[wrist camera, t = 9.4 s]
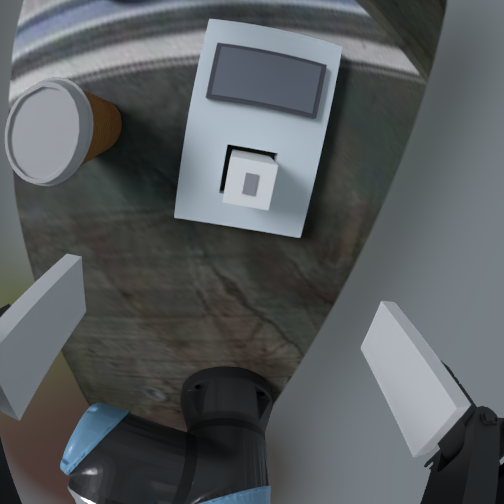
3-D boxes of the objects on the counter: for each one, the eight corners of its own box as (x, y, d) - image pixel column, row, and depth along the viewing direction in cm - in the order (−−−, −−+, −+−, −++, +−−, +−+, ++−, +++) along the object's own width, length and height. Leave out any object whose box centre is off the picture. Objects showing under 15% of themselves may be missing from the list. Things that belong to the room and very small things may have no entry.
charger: (261, 190, 33) (268, 211, 26) (226, 184, 33) (222, 202, 25) (269, 155, 32) (278, 165, 24) (232, 149, 31) (230, 156, 24)
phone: (314, 119, 28) (316, 118, 27) (206, 98, 27) (205, 97, 26) (324, 66, 26) (327, 64, 25) (217, 44, 25) (217, 42, 24)
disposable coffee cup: (146, 96, 28) (100, 85, 17) (121, 175, 32) (69, 203, 21) (78, 80, 26) (16, 71, 15) (57, 155, 30) (-6, 174, 19)
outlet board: (297, 231, 35) (300, 238, 33) (177, 212, 34) (174, 217, 32) (336, 50, 27) (342, 46, 25) (211, 24, 25) (209, 18, 23)
